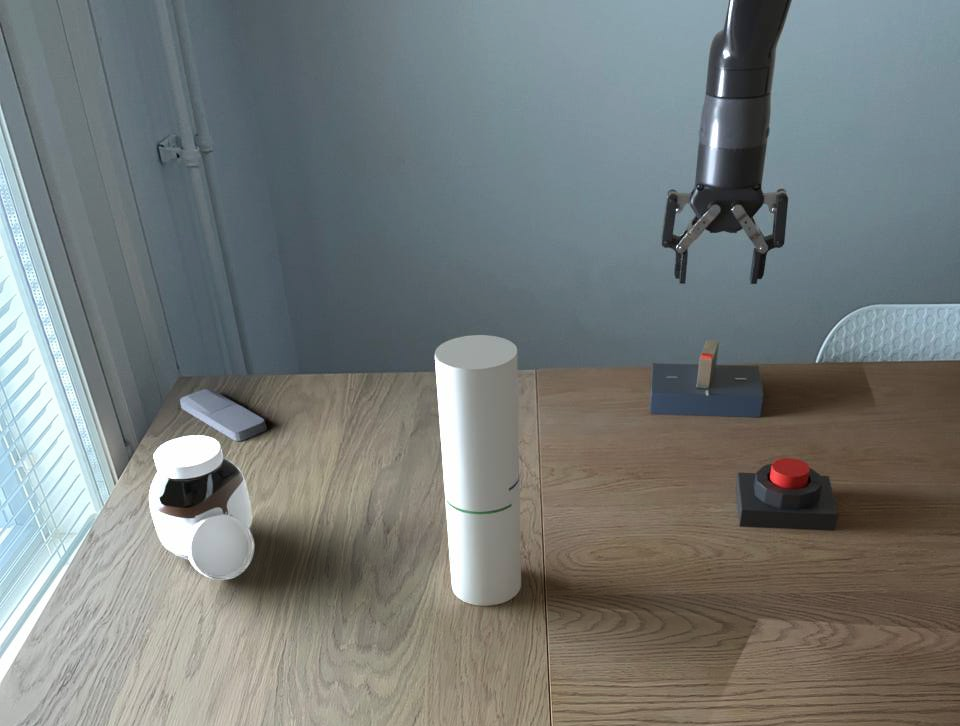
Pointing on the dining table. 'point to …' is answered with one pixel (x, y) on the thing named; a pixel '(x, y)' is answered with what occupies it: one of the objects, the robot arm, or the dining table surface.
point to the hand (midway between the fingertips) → (717, 281)
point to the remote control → (223, 414)
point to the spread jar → (202, 507)
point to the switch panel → (706, 391)
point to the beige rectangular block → (707, 364)
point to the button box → (785, 502)
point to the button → (789, 473)
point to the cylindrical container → (481, 465)
